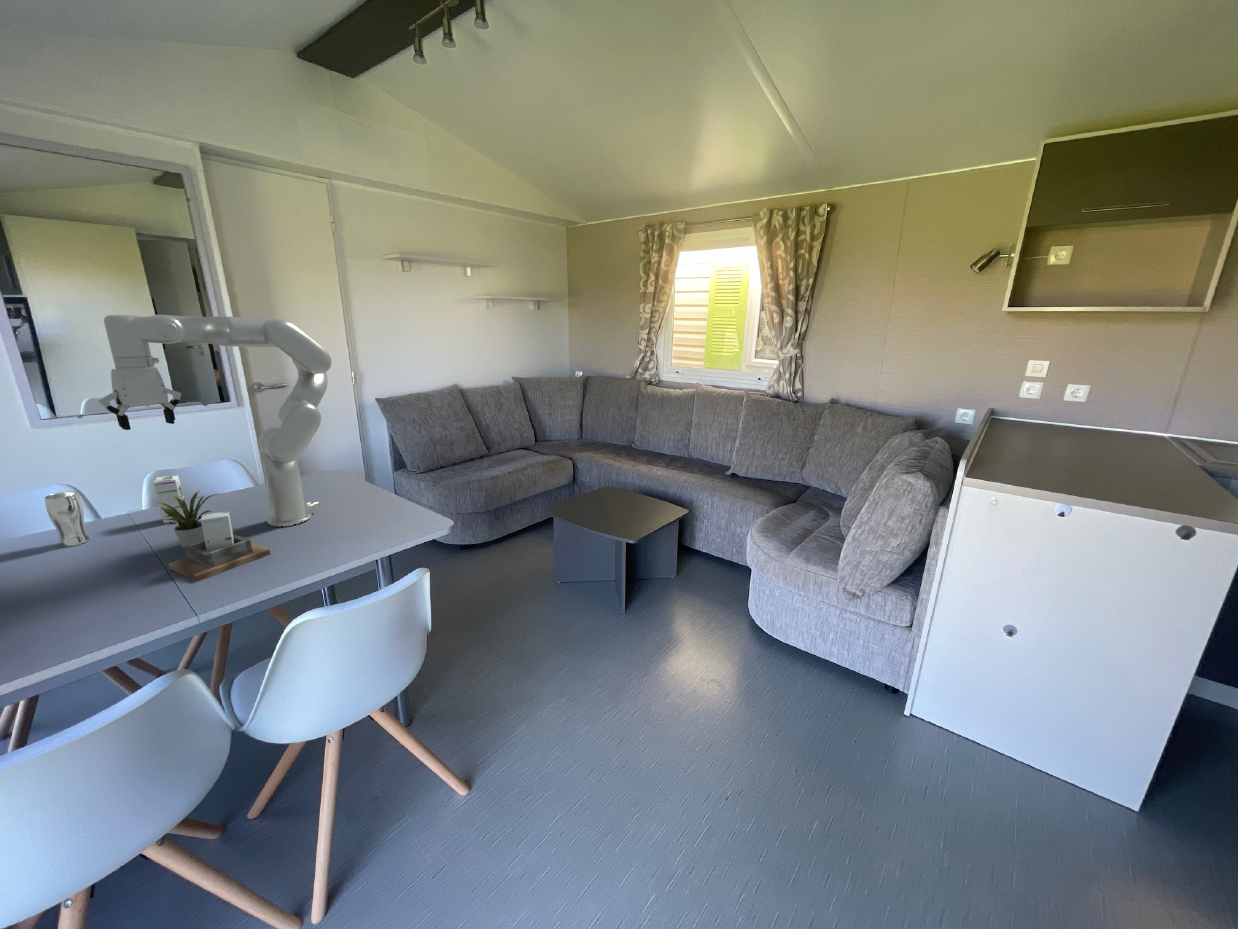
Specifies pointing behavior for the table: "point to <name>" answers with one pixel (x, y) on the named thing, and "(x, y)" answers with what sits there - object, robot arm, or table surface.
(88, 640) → the table surface
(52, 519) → the beer glass
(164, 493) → the syrup box
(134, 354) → the robot arm
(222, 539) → the skincare box
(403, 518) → the table surface
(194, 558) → the socket
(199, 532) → the house plant
